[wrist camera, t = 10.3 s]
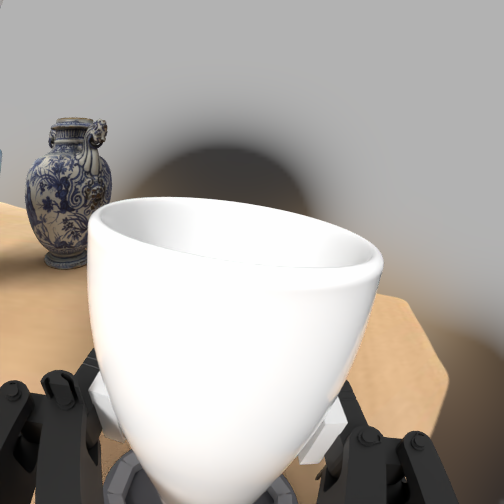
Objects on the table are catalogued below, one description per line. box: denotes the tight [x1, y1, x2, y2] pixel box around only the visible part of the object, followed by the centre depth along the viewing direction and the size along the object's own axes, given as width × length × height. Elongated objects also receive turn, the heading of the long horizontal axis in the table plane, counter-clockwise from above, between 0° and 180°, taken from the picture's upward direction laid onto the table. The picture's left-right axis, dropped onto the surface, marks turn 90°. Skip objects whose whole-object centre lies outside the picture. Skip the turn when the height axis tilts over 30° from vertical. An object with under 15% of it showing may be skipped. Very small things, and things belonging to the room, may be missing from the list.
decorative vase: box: [25, 118, 112, 269], centre depth 42 cm, size 21×19×28 cm
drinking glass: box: [87, 197, 384, 504], centre depth 8 cm, size 7×7×15 cm
